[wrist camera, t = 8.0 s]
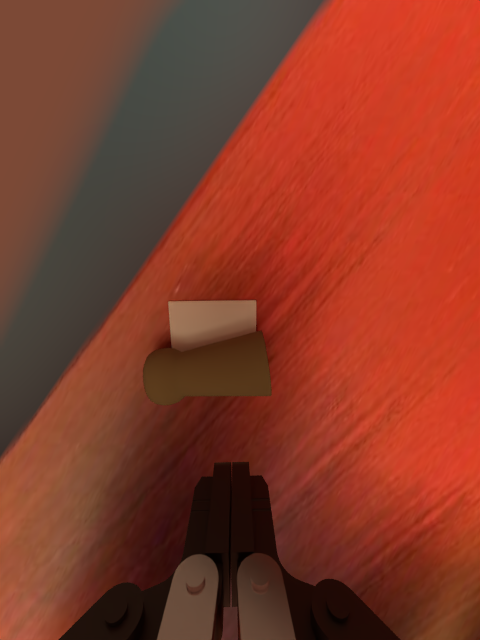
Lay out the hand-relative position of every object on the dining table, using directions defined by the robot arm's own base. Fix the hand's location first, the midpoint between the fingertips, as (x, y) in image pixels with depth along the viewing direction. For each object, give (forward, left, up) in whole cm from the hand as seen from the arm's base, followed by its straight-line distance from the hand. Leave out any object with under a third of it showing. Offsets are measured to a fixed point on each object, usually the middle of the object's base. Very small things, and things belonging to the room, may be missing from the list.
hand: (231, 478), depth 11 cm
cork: (-3, 0, -13) cm, 14 cm away
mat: (+2, 0, -16) cm, 16 cm away
